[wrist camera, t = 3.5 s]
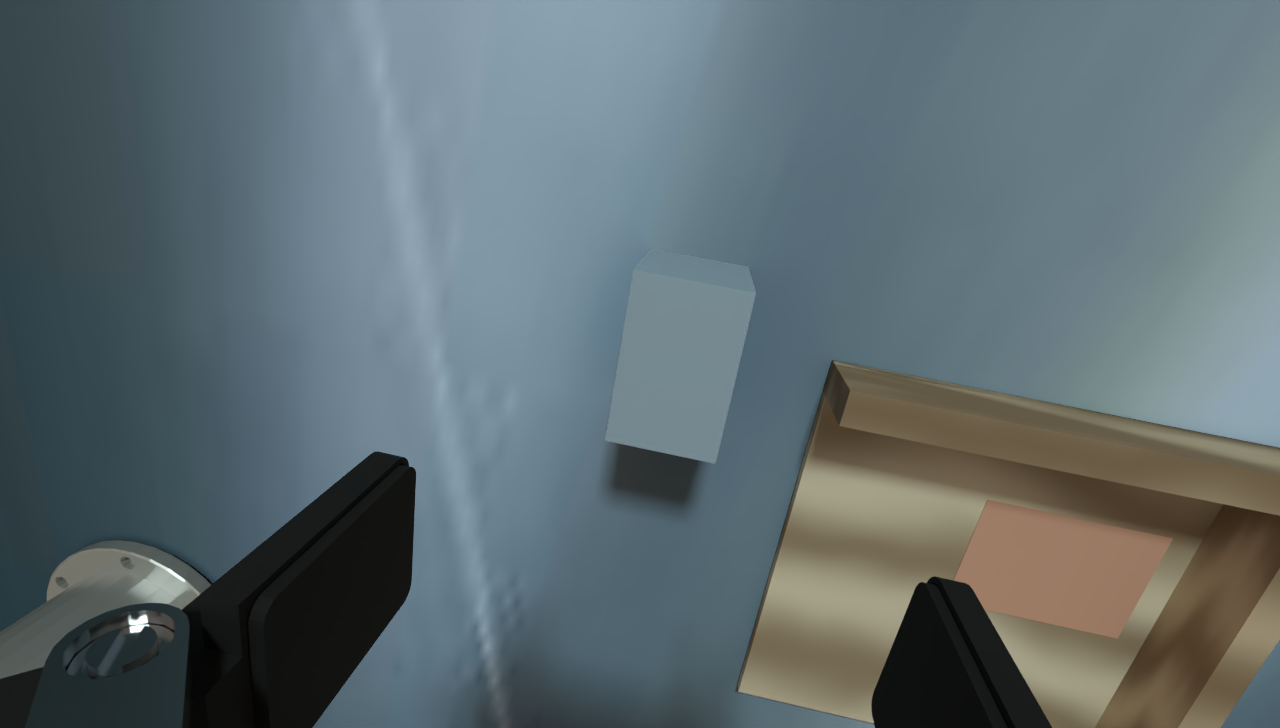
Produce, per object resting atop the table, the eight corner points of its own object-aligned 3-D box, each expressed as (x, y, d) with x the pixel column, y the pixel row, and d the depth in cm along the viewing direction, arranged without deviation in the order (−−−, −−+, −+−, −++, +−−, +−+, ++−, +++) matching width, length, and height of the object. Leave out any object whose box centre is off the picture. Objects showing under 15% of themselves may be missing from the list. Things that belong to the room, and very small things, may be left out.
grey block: (716, 406, 29) (715, 463, 24) (626, 388, 30) (605, 440, 24) (748, 266, 27) (756, 293, 21) (650, 248, 27) (633, 269, 22)
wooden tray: (1093, 766, 33) (1142, 843, 29) (737, 683, 34) (740, 746, 30) (1282, 448, 26) (1375, 495, 23) (832, 359, 28) (850, 390, 24)
